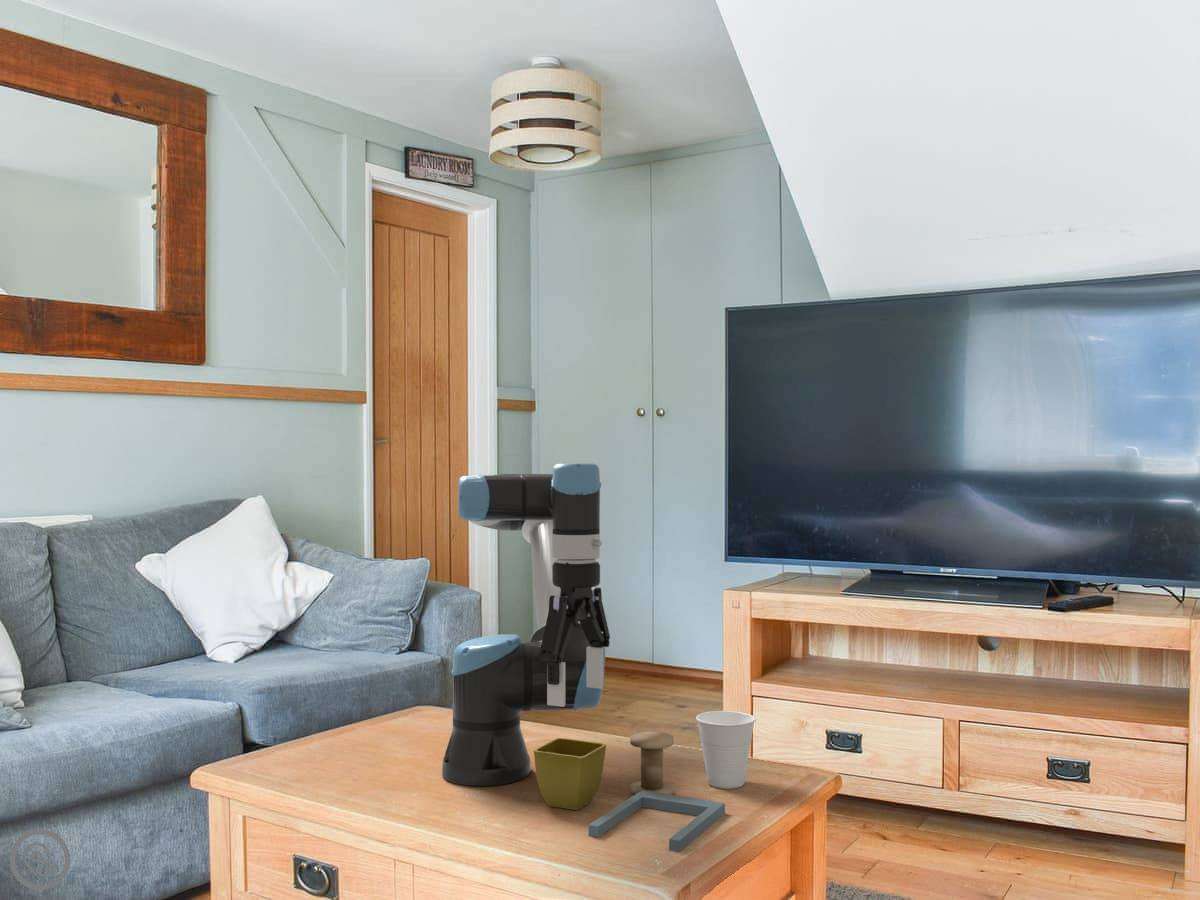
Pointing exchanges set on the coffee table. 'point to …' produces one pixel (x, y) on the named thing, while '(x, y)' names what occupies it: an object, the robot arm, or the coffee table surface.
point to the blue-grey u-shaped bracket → (701, 808)
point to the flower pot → (569, 771)
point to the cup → (725, 746)
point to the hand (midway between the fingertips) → (576, 696)
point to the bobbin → (651, 762)
